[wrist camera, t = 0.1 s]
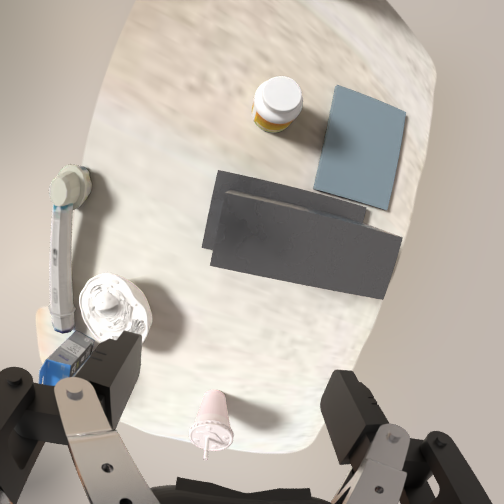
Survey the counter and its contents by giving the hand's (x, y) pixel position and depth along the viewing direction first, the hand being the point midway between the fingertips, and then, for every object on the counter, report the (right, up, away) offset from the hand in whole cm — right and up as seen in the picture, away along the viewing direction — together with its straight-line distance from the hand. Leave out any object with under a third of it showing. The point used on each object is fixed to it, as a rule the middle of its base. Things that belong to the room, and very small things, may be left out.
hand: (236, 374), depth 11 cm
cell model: (-18, -3, +30) cm, 35 cm away
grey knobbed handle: (-27, +5, +28) cm, 39 cm away
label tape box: (-29, -12, +32) cm, 44 cm away
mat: (+16, +19, +26) cm, 36 cm away
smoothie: (-6, -19, +34) cm, 40 cm away
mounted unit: (+5, +8, +28) cm, 30 cm away
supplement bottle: (+3, +23, +25) cm, 34 cm away
